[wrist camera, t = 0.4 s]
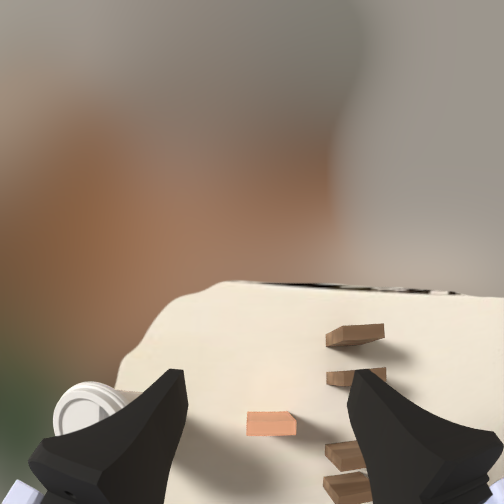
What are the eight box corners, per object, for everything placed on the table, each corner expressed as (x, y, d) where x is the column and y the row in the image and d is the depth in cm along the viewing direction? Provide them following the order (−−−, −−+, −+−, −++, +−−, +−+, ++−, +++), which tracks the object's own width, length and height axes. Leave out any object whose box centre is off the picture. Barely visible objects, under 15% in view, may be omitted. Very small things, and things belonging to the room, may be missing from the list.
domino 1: (287, 423, 32) (296, 434, 25) (247, 423, 32) (246, 435, 25) (287, 411, 33) (296, 420, 26) (247, 411, 33) (246, 421, 26)
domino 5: (358, 481, 28) (379, 499, 22) (322, 486, 28) (337, 507, 22) (359, 471, 29) (380, 488, 22) (323, 476, 29) (338, 496, 22)
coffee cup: (161, 460, 30) (115, 500, 16) (102, 423, 31) (36, 438, 18) (190, 403, 33) (153, 421, 19) (128, 368, 35) (66, 360, 21)
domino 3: (362, 380, 34) (386, 381, 27) (326, 384, 34) (343, 386, 27) (362, 369, 35) (386, 367, 28) (326, 372, 35) (343, 371, 28)
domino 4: (360, 450, 30) (383, 463, 24) (324, 455, 30) (341, 471, 24) (361, 439, 31) (384, 451, 24) (325, 444, 31) (341, 459, 24)
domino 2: (361, 344, 36) (384, 337, 29) (325, 346, 36) (342, 340, 29) (360, 332, 37) (383, 323, 30) (325, 334, 37) (342, 325, 30)
